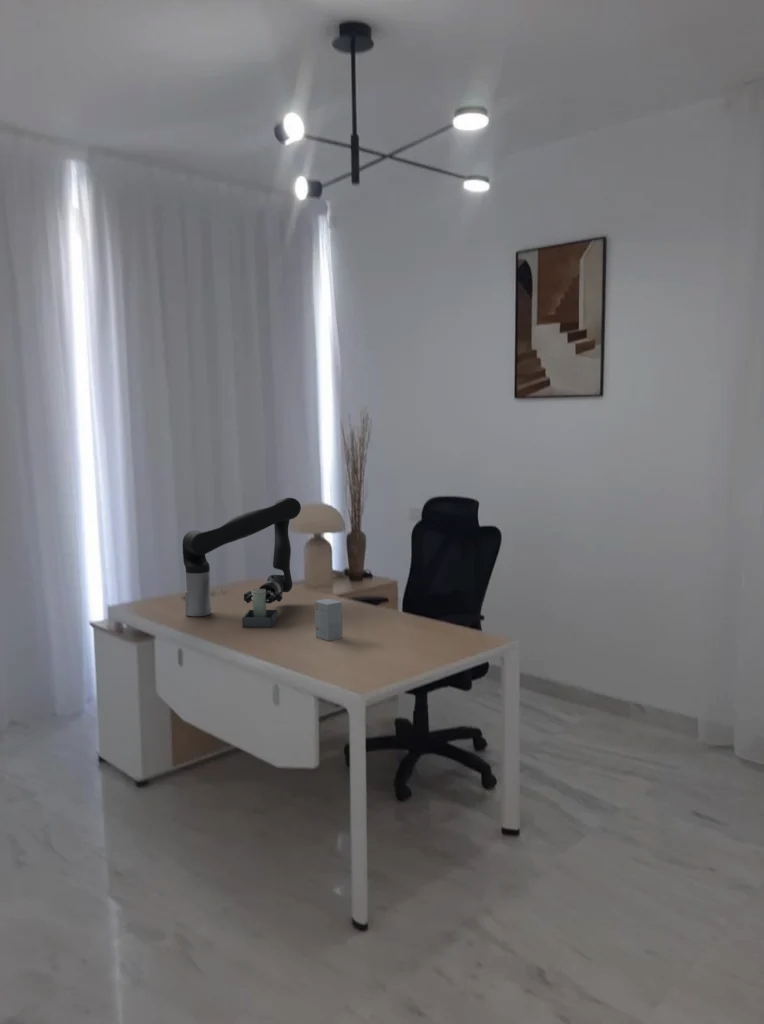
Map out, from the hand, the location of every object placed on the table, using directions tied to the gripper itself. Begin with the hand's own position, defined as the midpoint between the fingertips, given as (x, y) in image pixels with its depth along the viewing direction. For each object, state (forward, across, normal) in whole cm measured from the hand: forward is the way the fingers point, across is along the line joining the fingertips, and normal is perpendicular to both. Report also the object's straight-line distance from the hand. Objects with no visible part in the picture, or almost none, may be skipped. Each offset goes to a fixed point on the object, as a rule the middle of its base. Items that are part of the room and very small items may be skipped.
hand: (258, 600), depth 303 cm
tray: (-2, 0, +9) cm, 9 cm away
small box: (+17, +30, +9) cm, 35 cm away
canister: (-2, 0, +8) cm, 9 cm away
